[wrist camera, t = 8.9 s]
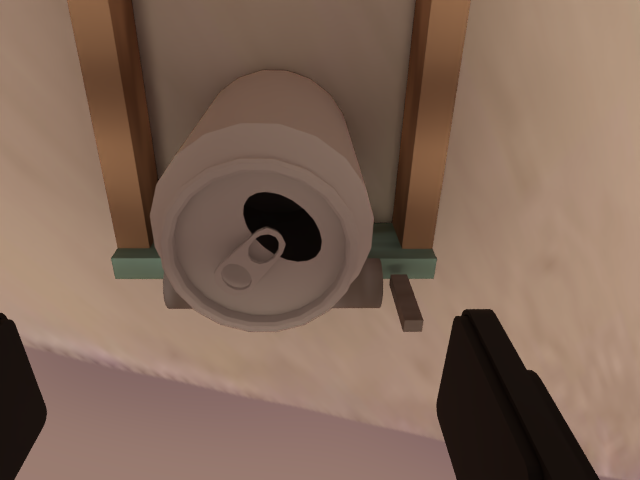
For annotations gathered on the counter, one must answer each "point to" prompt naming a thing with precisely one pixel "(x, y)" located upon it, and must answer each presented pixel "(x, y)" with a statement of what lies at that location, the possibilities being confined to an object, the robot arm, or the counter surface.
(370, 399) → the counter surface
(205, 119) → the can
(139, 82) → the bay
